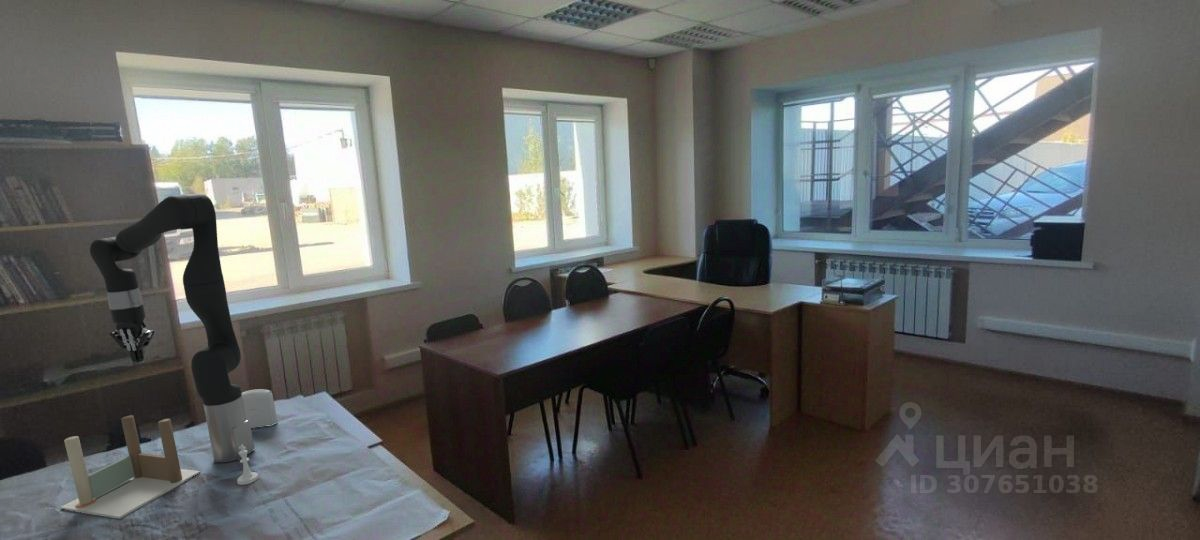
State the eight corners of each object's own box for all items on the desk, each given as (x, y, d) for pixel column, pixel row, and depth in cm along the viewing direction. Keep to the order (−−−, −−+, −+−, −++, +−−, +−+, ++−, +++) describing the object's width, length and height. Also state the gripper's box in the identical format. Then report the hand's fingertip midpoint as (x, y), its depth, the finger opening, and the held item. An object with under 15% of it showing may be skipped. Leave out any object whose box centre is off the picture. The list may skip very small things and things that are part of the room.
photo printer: (239, 431, 178) (233, 394, 176) (245, 425, 182) (239, 389, 180) (274, 427, 180) (268, 390, 177) (279, 421, 184) (273, 385, 181)
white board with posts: (200, 473, 153) (188, 413, 150) (119, 518, 134) (104, 451, 130) (145, 466, 158) (133, 408, 155) (60, 509, 139) (44, 444, 136)
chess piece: (248, 485, 146) (242, 450, 144) (232, 484, 147) (226, 449, 145) (263, 475, 150) (257, 440, 149) (247, 474, 151) (241, 439, 150)
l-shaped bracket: (129, 476, 151) (116, 417, 148) (137, 477, 150) (124, 418, 147) (76, 504, 139) (61, 440, 136) (84, 505, 138) (69, 441, 135)
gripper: (93, 308, 160) (106, 366, 163) (133, 308, 158) (145, 366, 161) (119, 302, 167) (131, 357, 171) (157, 301, 165) (169, 357, 169)
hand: (138, 361), depth 166 cm, fingers closed
